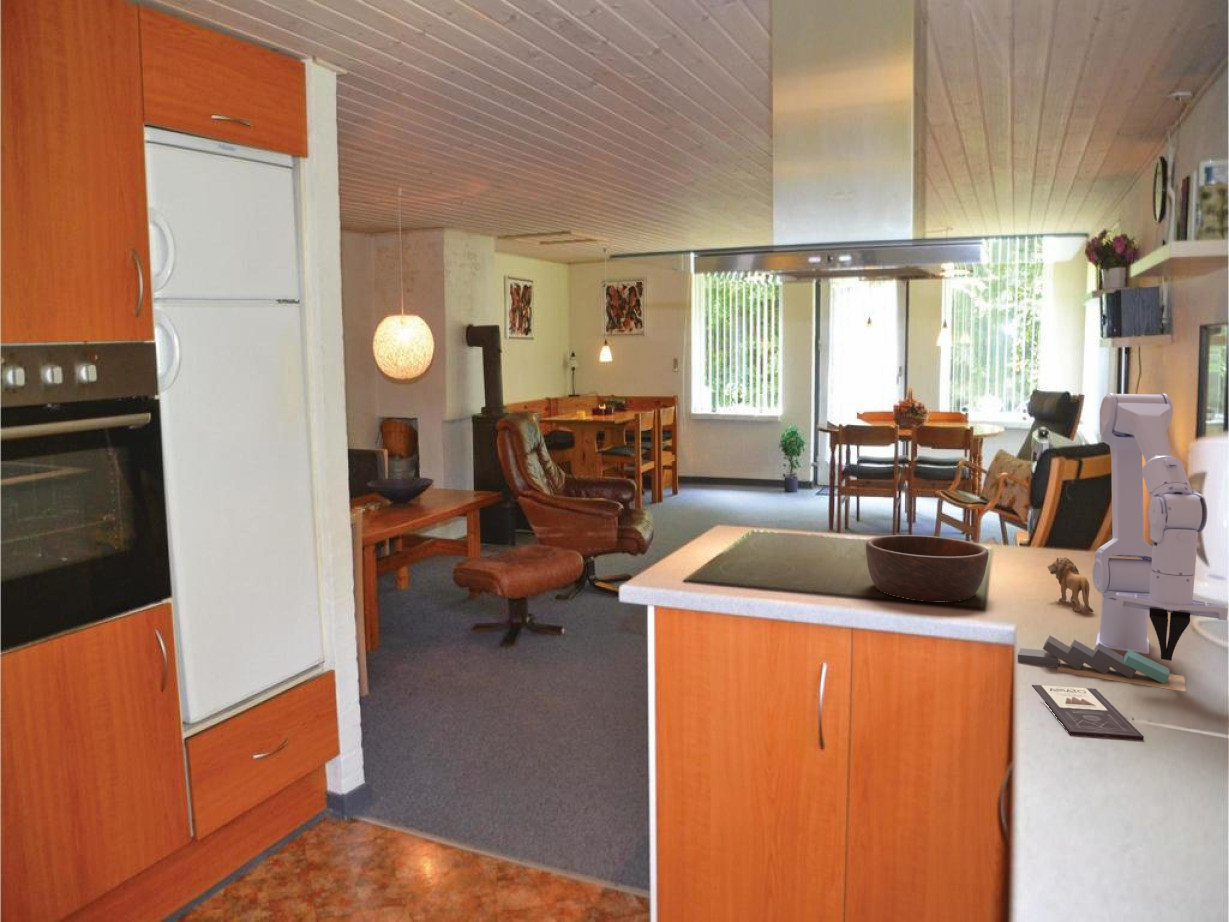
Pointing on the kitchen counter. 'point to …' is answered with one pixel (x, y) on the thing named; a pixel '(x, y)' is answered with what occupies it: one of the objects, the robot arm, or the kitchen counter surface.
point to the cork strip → (1138, 678)
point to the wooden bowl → (926, 566)
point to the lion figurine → (1070, 581)
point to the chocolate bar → (1087, 713)
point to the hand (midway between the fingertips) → (1166, 658)
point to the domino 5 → (1146, 666)
